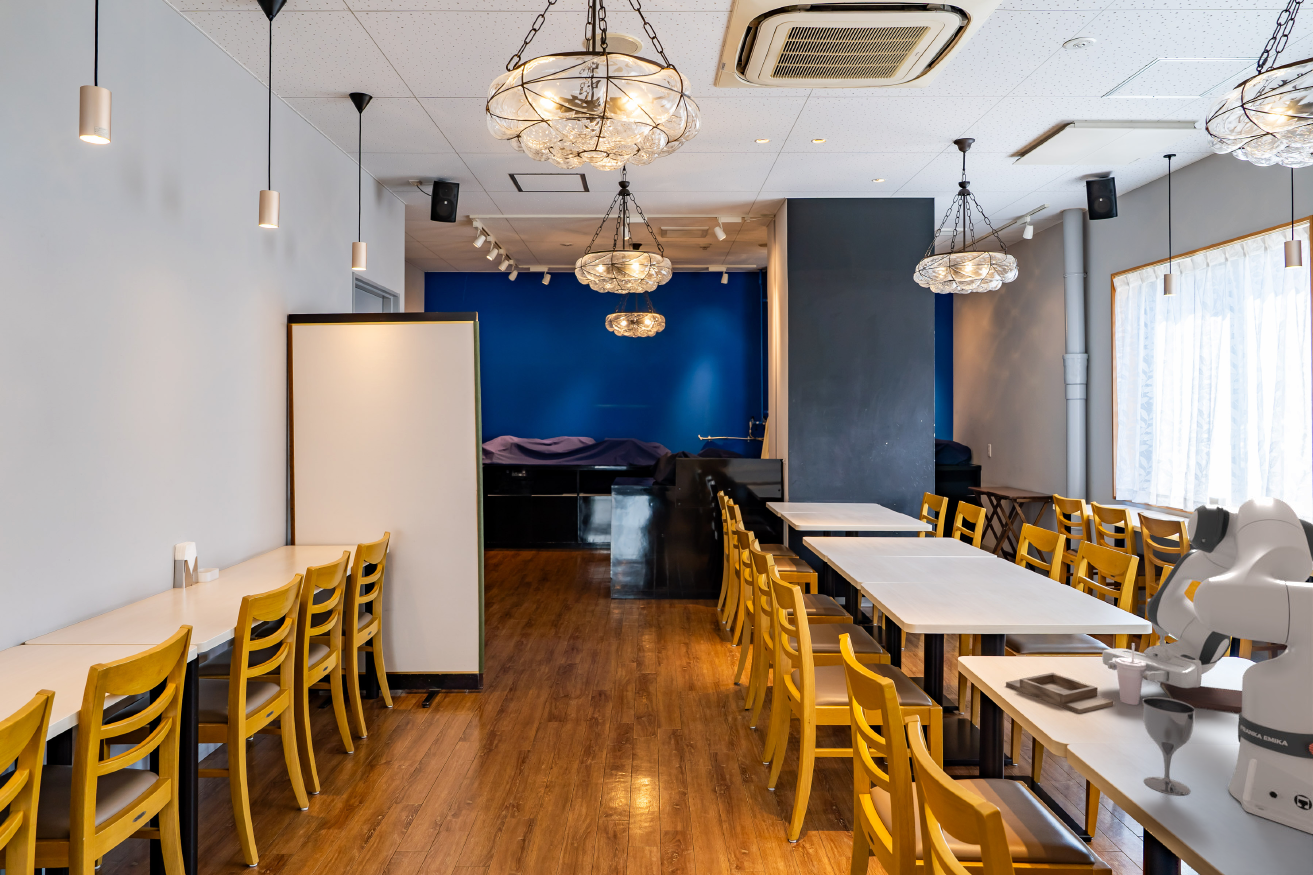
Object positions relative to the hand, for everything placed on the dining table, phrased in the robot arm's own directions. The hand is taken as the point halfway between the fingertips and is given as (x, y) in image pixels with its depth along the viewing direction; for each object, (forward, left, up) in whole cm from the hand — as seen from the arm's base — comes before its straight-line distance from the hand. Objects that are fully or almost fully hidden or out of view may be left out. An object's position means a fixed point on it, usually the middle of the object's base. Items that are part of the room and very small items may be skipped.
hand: (1128, 670), depth 181 cm
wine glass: (-30, +35, -8) cm, 47 cm away
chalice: (+13, -35, -8) cm, 38 cm away
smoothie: (0, -1, -8) cm, 8 cm away
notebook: (-8, -21, -8) cm, 24 cm away
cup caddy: (+10, +11, -8) cm, 17 cm away
